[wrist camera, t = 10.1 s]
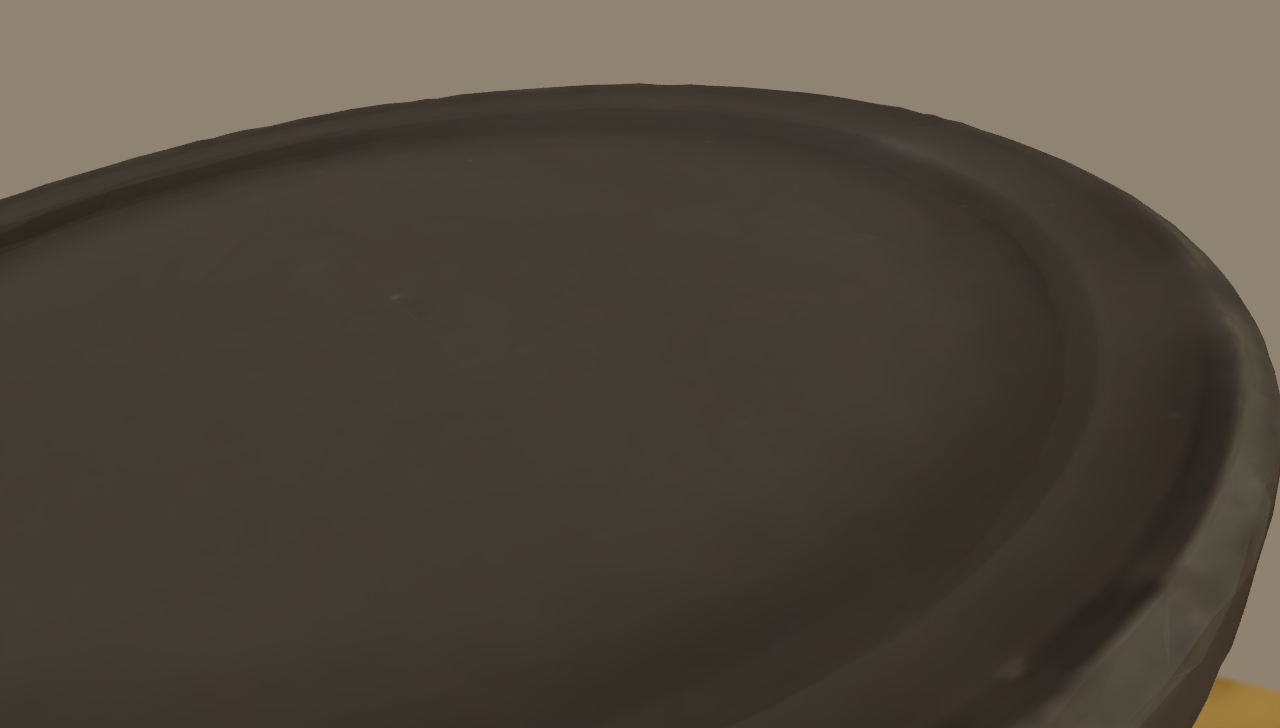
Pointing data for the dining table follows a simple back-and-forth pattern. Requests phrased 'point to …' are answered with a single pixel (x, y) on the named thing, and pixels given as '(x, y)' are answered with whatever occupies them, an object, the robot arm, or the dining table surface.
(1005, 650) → the coffee can
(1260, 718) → the dining table surface
